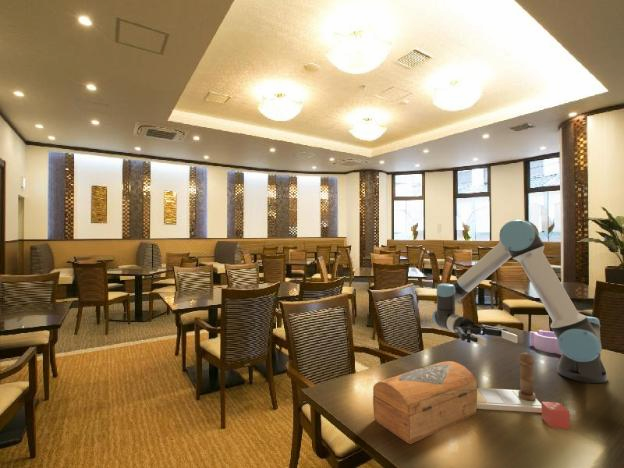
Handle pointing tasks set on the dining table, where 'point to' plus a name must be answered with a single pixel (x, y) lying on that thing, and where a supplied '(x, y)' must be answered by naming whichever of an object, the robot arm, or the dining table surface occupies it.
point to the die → (555, 415)
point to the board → (505, 401)
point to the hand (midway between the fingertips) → (501, 341)
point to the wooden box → (425, 400)
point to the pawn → (526, 377)
